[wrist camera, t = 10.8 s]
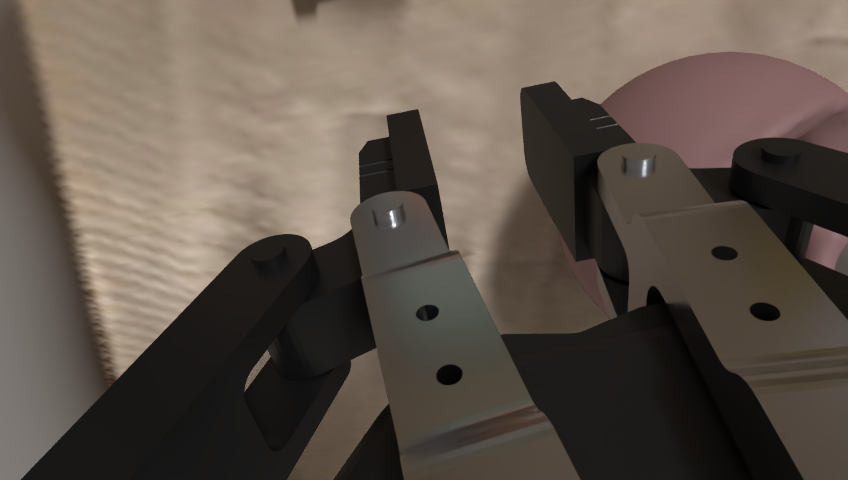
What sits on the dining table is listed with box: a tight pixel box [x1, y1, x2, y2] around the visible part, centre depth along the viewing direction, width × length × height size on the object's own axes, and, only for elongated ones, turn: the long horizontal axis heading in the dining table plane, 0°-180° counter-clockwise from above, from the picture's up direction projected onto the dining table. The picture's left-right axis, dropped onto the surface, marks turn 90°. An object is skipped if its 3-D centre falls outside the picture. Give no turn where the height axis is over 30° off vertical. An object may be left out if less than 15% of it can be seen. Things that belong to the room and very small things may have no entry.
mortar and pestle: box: [559, 52, 848, 315], centre depth 24 cm, size 12×12×12 cm
